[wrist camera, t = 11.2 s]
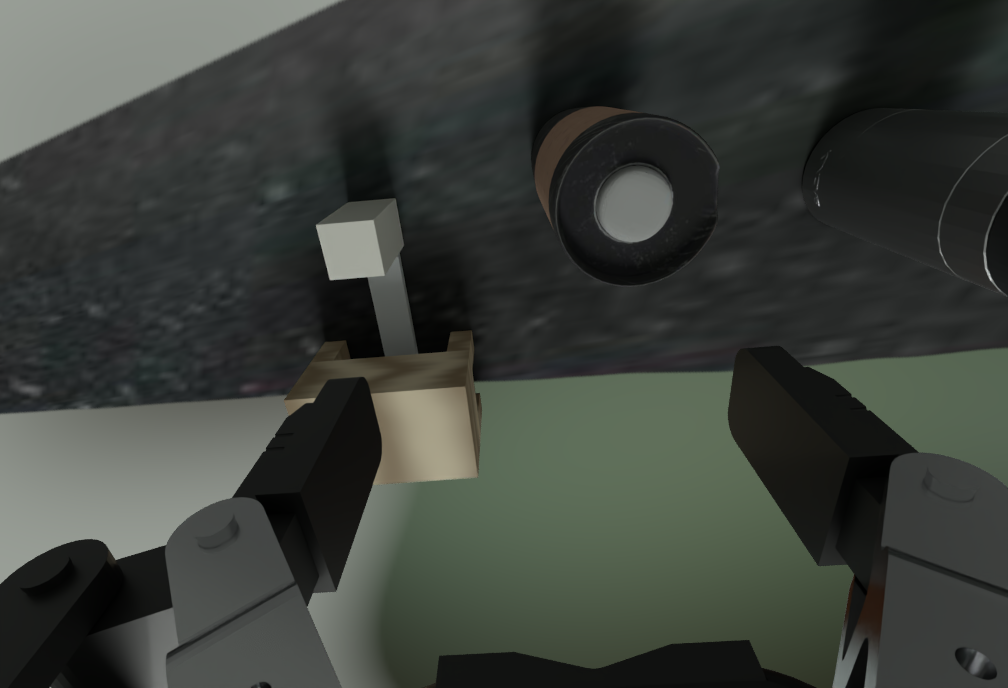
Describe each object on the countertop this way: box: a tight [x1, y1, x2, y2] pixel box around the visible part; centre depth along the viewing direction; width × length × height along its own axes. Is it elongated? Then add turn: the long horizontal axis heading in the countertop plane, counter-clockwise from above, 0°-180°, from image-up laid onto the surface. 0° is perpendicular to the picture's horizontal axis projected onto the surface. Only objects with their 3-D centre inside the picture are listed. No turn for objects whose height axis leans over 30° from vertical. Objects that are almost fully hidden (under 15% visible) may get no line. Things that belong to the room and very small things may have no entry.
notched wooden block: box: [284, 330, 482, 485], centre depth 44 cm, size 14×9×10 cm, turn 95°
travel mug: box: [531, 106, 720, 287], centre depth 31 cm, size 8×8×20 cm
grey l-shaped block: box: [316, 198, 418, 357], centre depth 41 cm, size 17×4×8 cm, turn 5°
